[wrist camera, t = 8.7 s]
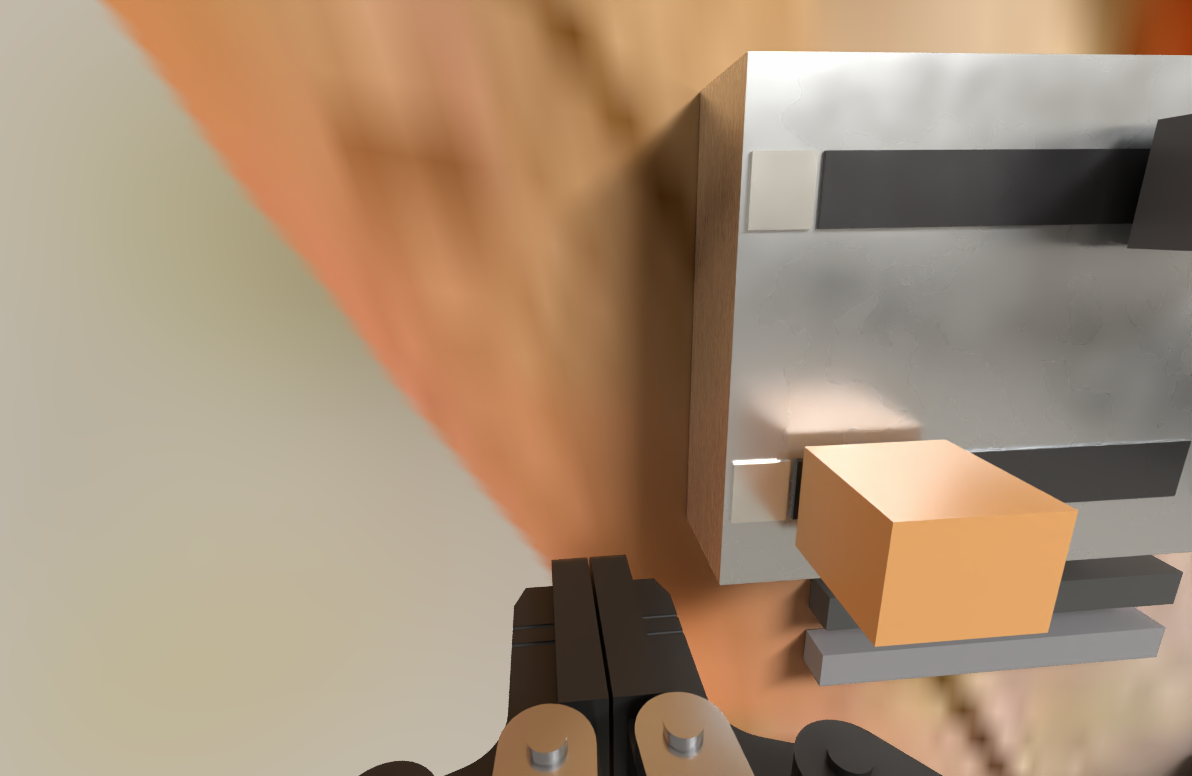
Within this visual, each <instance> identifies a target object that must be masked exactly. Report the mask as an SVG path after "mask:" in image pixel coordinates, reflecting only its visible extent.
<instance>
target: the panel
mask: <svg viewBox="0 0 1192 776" xmlns="http://www.w3.org/2000/svg"><path fill="white" fill-rule="evenodd" d="M1188 114H1192V56H1190V55H1086V54H982V53H877V52H773V51H748V52H747V53H745V54H744V55H743V56H742V57H741V58H739V59H738V60H737V61H736V62H735V63H733V64H732V65H731V66H730V67H729V68H728V69H726V70H725V71H724V72H723V73H722V74H720V75H719V76H718V77H717V78H716V79H714V80H713V81H712V82H711V83H710V84H708V85H707V86H706V87H705V88H704V89H702V90H701V97H700V127H699V157H698V187H697V217H696V248H695V278H694V308H693V338H692V368H691V398H690V429H689V459H688V489H687V520H688V522H689V524H690V526H691V528H692V530H693V532H694V534H695V536H696V538H697V540H698V542H699V544H700V546H701V548H702V550H703V552H704V554H705V556H706V559H707V561H708V563H709V565H710V567H711V569H712V571H713V573H714V575H715V577H716V579H717V581H718V583H719V585H729V584H744V583H758V582H772V581H786V580H800V579H814V578H820V576H819V575H818V574H817V573H816V571H815V570H814V569H813V568H812V566H811V565H810V564H809V562H808V561H807V560H806V559H805V557H804V556H803V555H802V554H801V552H800V551H799V550H798V548H797V547H796V546H795V542H796V531H797V521H798V510H799V500H800V489H801V479H802V468H803V458H804V447H807V446H826V445H846V444H866V443H886V442H906V441H926V440H948V441H949V442H951V443H953V444H955V445H957V446H959V447H961V448H963V449H964V450H966V451H968V452H970V453H972V454H974V455H976V456H978V457H979V458H981V459H983V460H985V461H987V462H989V463H991V464H992V465H994V466H996V467H998V468H1000V469H1002V470H1004V471H1006V472H1007V473H1009V474H1011V475H1013V476H1015V477H1017V478H1019V479H1020V480H1022V481H1024V482H1026V483H1028V484H1030V485H1032V486H1034V487H1035V488H1037V489H1039V490H1041V491H1043V492H1045V493H1047V494H1049V495H1050V496H1052V497H1054V498H1056V499H1058V500H1060V501H1062V502H1063V503H1065V504H1067V505H1069V506H1071V507H1073V508H1075V509H1077V510H1078V514H1077V518H1076V522H1075V526H1074V530H1073V534H1072V538H1071V542H1070V546H1069V550H1068V554H1067V558H1066V561H1070V560H1084V559H1098V558H1112V557H1126V556H1140V555H1155V554H1169V553H1183V552H1192V251H1176V250H1152V249H1129V248H1127V245H1128V241H1129V237H1130V233H1131V229H1132V225H1133V220H1134V216H1135V212H1136V208H1137V204H1138V200H1139V196H1140V191H1141V187H1142V183H1143V179H1144V175H1145V171H1146V167H1147V162H1148V158H1149V154H1150V150H1151V146H1152V142H1153V137H1154V133H1155V129H1156V125H1157V121H1158V119H1164V118H1170V117H1176V116H1182V115H1188Z"/></svg>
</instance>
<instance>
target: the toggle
mask: <svg viewBox="0 0 1192 776" xmlns="http://www.w3.org/2000/svg"><path fill="white" fill-rule="evenodd" d="M1077 514H1078V510H1077V509H1075V508H1073V507H1071V506H1069V505H1067V504H1065V503H1063V502H1062V501H1060V500H1058V499H1056V498H1054V497H1052V496H1050V495H1049V494H1047V493H1045V492H1043V491H1041V490H1039V489H1037V488H1035V487H1034V486H1032V485H1030V484H1028V483H1026V482H1024V481H1022V480H1020V479H1019V478H1017V477H1015V476H1013V475H1011V474H1009V473H1007V472H1006V471H1004V470H1002V469H1000V468H998V467H996V466H994V465H992V464H991V463H989V462H987V461H985V460H983V459H981V458H979V457H978V456H976V455H974V454H972V453H970V452H968V451H966V450H964V449H963V448H961V447H959V446H957V445H955V444H953V443H951V442H949V441H948V440H926V441H906V442H886V443H866V444H846V445H826V446H807V447H804V458H803V468H802V479H801V489H800V500H799V510H798V521H797V531H796V542H795V546H796V547H797V548H798V550H799V551H800V552H801V554H802V555H803V556H804V557H805V559H806V560H807V561H808V562H809V564H810V565H811V566H812V568H813V569H814V570H815V571H816V573H817V574H818V575H819V576H820V578H821V579H822V580H823V582H824V583H825V584H826V585H827V587H828V588H829V589H830V590H831V592H832V593H833V594H834V596H835V597H836V598H837V599H838V601H839V602H840V603H841V604H842V606H843V607H844V608H845V610H846V611H847V612H848V613H849V615H850V616H851V617H852V618H853V620H854V621H855V622H856V624H857V625H858V626H859V627H860V629H861V630H862V631H863V632H864V634H865V635H866V636H867V638H868V639H869V640H870V641H871V643H872V644H873V645H874V646H875V647H879V646H891V645H903V644H916V643H928V642H940V641H952V640H965V639H977V638H989V637H1001V636H1014V635H1026V634H1038V633H1048V630H1049V626H1050V622H1051V618H1052V614H1053V610H1054V606H1055V602H1056V598H1057V594H1058V590H1059V586H1060V582H1061V578H1062V574H1063V570H1064V566H1065V562H1066V558H1067V554H1068V550H1069V546H1070V542H1071V538H1072V534H1073V530H1074V526H1075V522H1076V518H1077Z"/></svg>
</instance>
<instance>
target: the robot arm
mask: <svg viewBox="0 0 1192 776" xmlns="http://www.w3.org/2000/svg"><path fill="white" fill-rule="evenodd" d="M552 582H553V586H549V587H534V588H526V589H525V590H524V592H523V593H522V595H521V597H520V598H519V600H518V601H517V603H516V604H515V606H514V620H513V636H512V638H513V639H512V655H511V671H510V672H511V673H510V689H509V690H510V691H509V708H508V718H507V723H506V726H505V728H504V730H503V731H502V733H501V735H500V737H499V740H498V741H497V743H496V744H495V745H494V746H493V748H492V749H491V750H490V751H489V752H488V753H486V754H485V755H484V756H483V757H482V758H480V759H479V760H477V761H476V762H474V763H472V764H470V765H468V766H466V767H464V768H462V769H460V770H457V771H455V772H452V773H450V774H448V775H445V776H942V775H940V774H939V773H937V772H935V771H934V770H932V769H930V768H929V767H927V766H925V765H924V764H922V763H920V762H919V761H917V760H915V759H914V758H912V757H910V756H909V755H907V754H905V753H904V752H902V751H900V750H899V749H897V748H895V747H894V746H892V745H890V744H889V743H887V742H885V741H884V740H882V739H880V738H879V737H877V736H875V735H874V734H872V733H870V732H869V731H867V730H865V729H863V728H861V727H859V726H856V725H854V724H851V723H847V722H844V721H838V720H821V721H816V722H813V723H810V724H809V725H807V726H805V727H804V728H803V729H802V730H801V731H800V732H799V734H798V736H797V737H796V741H795V744H794V743H789V742H784V741H779V740H774V739H769V738H764V737H759V736H755V735H752V734H749V733H746V732H744V731H742V730H740V729H738V728H736V727H734V726H733V725H731V724H730V723H729V722H728V720H727V718H726V717H725V715H724V714H723V713H722V712H721V710H720V709H719V708H717V707H716V706H715V705H714V704H713V703H711V702H710V701H709V700H708V698H707V696H706V693H705V691H704V688H703V685H702V682H701V680H700V677H699V674H698V671H697V668H696V666H695V663H694V660H693V657H692V655H691V652H690V649H689V646H688V643H687V641H686V638H685V635H684V634H683V631H682V627H681V624H680V621H679V618H678V617H677V613H676V610H675V607H674V605H673V602H672V599H671V596H670V594H669V593H668V592H667V591H666V590H665V589H664V588H663V587H662V586H661V585H660V584H659V583H658V582H657V581H656V580H655V579H654V578H653V579H640V580H632V576H631V572H630V569H629V565H628V561H627V558H626V555H614V556H600V557H590V559H589V566H588V559H587V558H573V559H559V560H552ZM359 776H434V775H433V774H432V772H430V771H429V770H428V769H427V768H426V767H424V766H422V765H420V764H418V763H414V762H409V761H394V762H389V763H384V764H382V765H378V766H376V767H374V768H371V769H370V770H367V771H366V772H364V773H363V774H361V775H359Z"/></svg>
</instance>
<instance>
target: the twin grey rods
mask: <svg viewBox="0 0 1192 776" xmlns="http://www.w3.org/2000/svg"><path fill="white" fill-rule="evenodd" d="M1182 574H1183V572H1181V571H1180V570H1178V569H1176V568H1174V567H1172V566H1170V565H1169V564H1167V563H1165V562H1163V561H1161V560H1159V559H1157V558H1156V557H1154V556H1152V555H1140V556H1126V557H1112V558H1098V559H1084V560H1070V561H1066V562H1065V566H1064V570H1063V574H1062V578H1061V582H1060V586H1059V590H1058V594H1057V598H1056V602H1055V606H1054V610H1053V614H1052V618H1051V622H1050V626H1049V630H1048V633H1038V634H1026V635H1014V636H1001V637H989V638H977V639H965V640H952V641H940V642H928V643H916V644H903V645H891V646H879V647H875V646H874V645H873V644H872V643H871V641H870V640H869V639H868V638H867V636H866V635H865V634H864V632H863V631H862V630H861V629H860V627H859V626H858V625H857V624H856V622H855V621H854V620H853V618H852V617H851V616H850V615H849V613H848V612H847V611H846V610H845V608H844V607H843V606H842V604H841V603H840V602H839V601H838V599H837V598H836V597H835V596H834V594H833V593H832V592H831V590H830V589H829V588H828V587H827V585H826V584H825V583H824V582H823V580H822V579H821V578H814V579H812V582H811V591H810V601H809V607H810V609H811V610H812V612H813V613H814V614H815V616H816V617H817V619H818V620H819V622H820V623H821V624H822V626H823V627H824V629H813V630H806V638H805V648H804V657H803V659H804V661H805V663H806V664H807V666H808V668H809V669H810V671H811V673H812V674H813V676H814V678H815V679H816V681H817V683H818V684H819V686H828V685H840V684H851V683H863V682H874V681H886V680H897V679H909V678H920V677H932V676H943V675H955V674H966V673H977V672H989V671H1000V670H1012V669H1023V668H1035V667H1046V666H1058V665H1069V664H1081V663H1092V662H1104V661H1115V660H1127V659H1138V658H1150V657H1156V656H1157V653H1158V650H1159V646H1160V643H1161V640H1162V637H1163V634H1164V631H1165V627H1164V626H1162V625H1161V624H1159V623H1158V622H1156V621H1155V620H1153V619H1152V618H1150V617H1148V616H1147V615H1145V614H1144V613H1142V612H1141V611H1139V610H1138V609H1136V608H1135V607H1138V606H1151V605H1163V604H1173V602H1174V599H1175V596H1176V593H1177V590H1178V587H1179V584H1180V580H1181V577H1182Z"/></svg>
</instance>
